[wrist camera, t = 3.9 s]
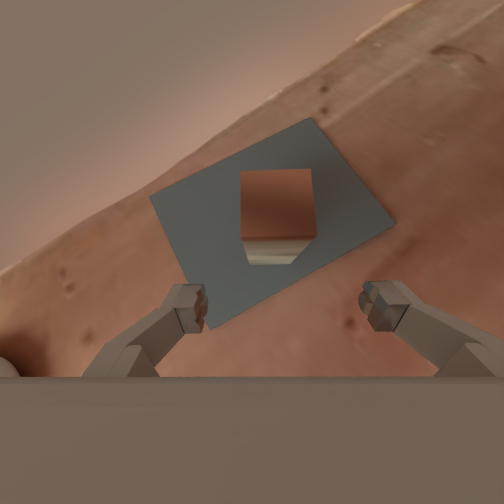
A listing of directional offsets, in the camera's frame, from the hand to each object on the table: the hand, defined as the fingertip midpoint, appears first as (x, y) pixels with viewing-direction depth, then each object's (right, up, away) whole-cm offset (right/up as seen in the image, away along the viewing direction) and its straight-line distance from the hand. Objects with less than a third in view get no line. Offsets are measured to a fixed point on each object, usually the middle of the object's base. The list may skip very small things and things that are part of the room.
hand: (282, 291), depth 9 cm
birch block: (0, +3, +11) cm, 12 cm away
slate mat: (0, +7, +13) cm, 15 cm away
